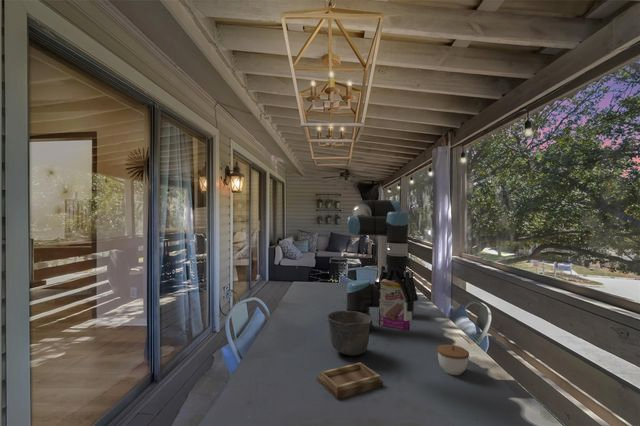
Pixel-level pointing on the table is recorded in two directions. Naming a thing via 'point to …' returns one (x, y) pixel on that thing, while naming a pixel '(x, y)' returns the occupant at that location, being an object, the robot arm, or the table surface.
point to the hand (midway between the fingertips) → (395, 315)
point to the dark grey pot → (349, 331)
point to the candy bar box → (392, 306)
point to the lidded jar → (453, 359)
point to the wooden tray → (349, 380)
